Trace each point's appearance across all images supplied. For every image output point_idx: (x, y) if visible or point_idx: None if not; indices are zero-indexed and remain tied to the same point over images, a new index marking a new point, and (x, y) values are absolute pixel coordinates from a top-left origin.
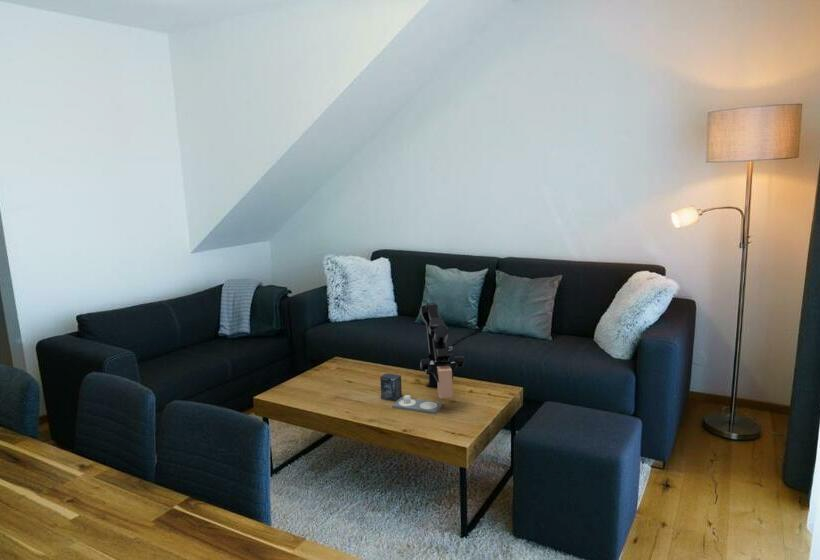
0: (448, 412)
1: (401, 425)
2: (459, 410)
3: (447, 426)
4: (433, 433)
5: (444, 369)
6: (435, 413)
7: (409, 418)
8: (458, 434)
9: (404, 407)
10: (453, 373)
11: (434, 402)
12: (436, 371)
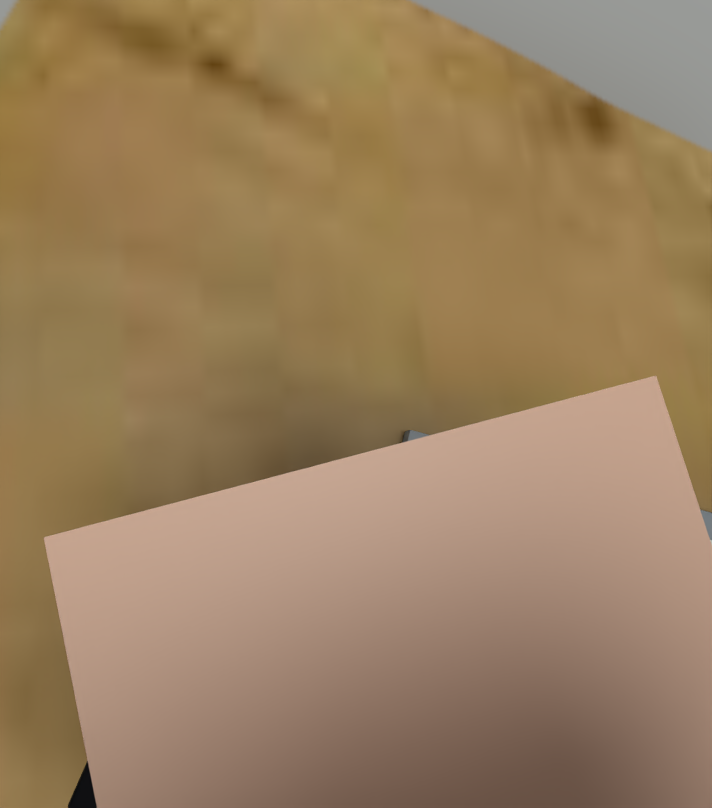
0: None
1: (639, 202)
2: None
3: (270, 183)
4: (374, 65)
5: (439, 611)
6: (404, 436)
7: (607, 330)
8: (168, 41)
9: (702, 510)
10: (86, 767)
11: None
12: None
